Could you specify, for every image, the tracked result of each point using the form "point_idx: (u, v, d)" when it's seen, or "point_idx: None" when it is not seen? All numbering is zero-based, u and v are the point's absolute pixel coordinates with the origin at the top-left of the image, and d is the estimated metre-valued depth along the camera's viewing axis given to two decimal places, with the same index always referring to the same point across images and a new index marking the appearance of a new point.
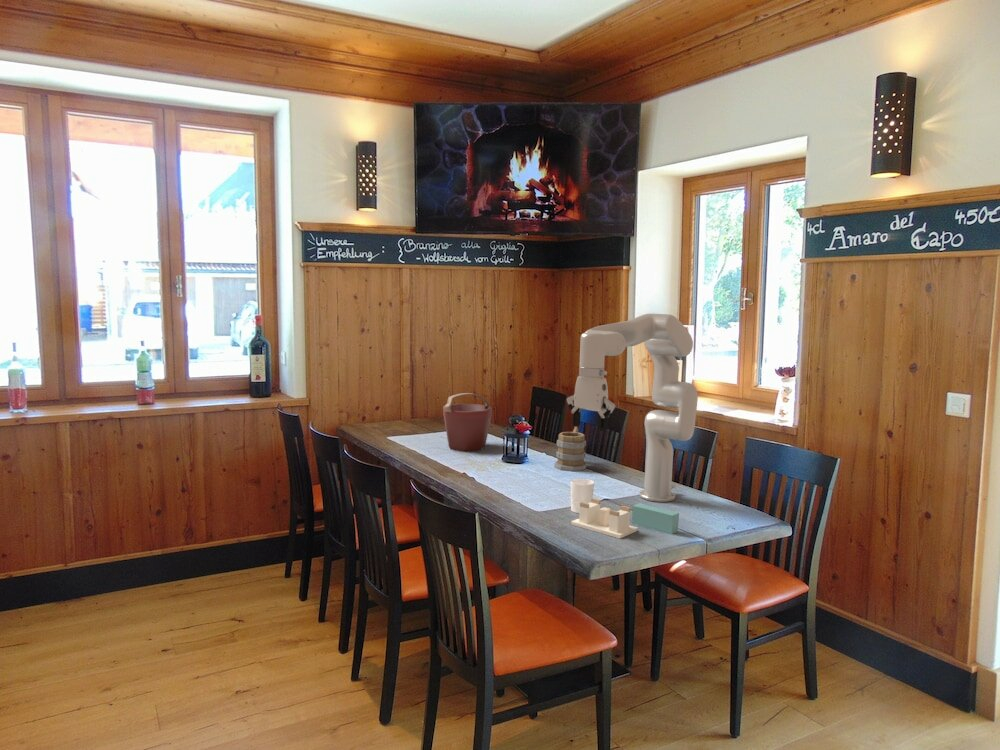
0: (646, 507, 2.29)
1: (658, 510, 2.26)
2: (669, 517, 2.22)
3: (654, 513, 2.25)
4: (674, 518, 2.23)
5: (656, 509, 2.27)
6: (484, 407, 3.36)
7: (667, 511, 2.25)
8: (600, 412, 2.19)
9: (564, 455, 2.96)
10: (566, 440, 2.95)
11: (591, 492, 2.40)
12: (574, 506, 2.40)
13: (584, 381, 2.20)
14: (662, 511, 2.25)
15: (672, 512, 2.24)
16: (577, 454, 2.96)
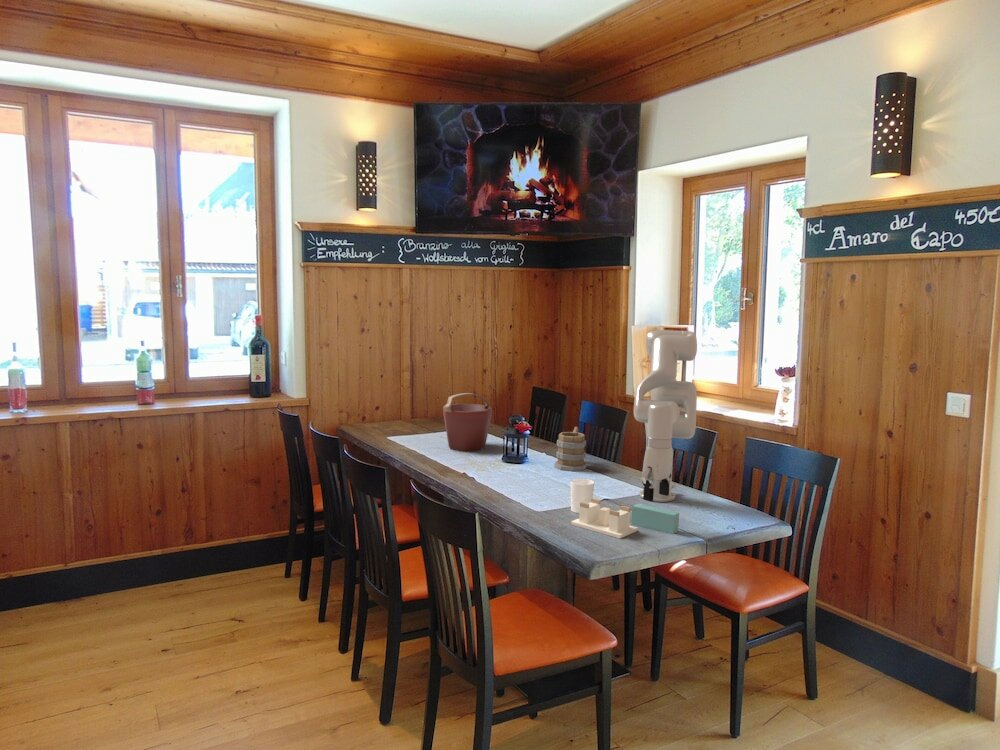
0: (646, 507, 2.29)
1: (659, 510, 2.26)
2: (670, 517, 2.22)
3: (655, 513, 2.25)
4: (675, 518, 2.23)
5: (656, 509, 2.27)
6: (484, 407, 3.36)
7: (667, 511, 2.25)
8: (668, 478, 2.28)
9: (564, 455, 2.96)
10: (566, 440, 2.95)
11: (591, 492, 2.40)
12: (574, 506, 2.40)
13: (664, 453, 2.23)
14: (663, 511, 2.25)
15: (672, 512, 2.25)
16: (577, 454, 2.96)
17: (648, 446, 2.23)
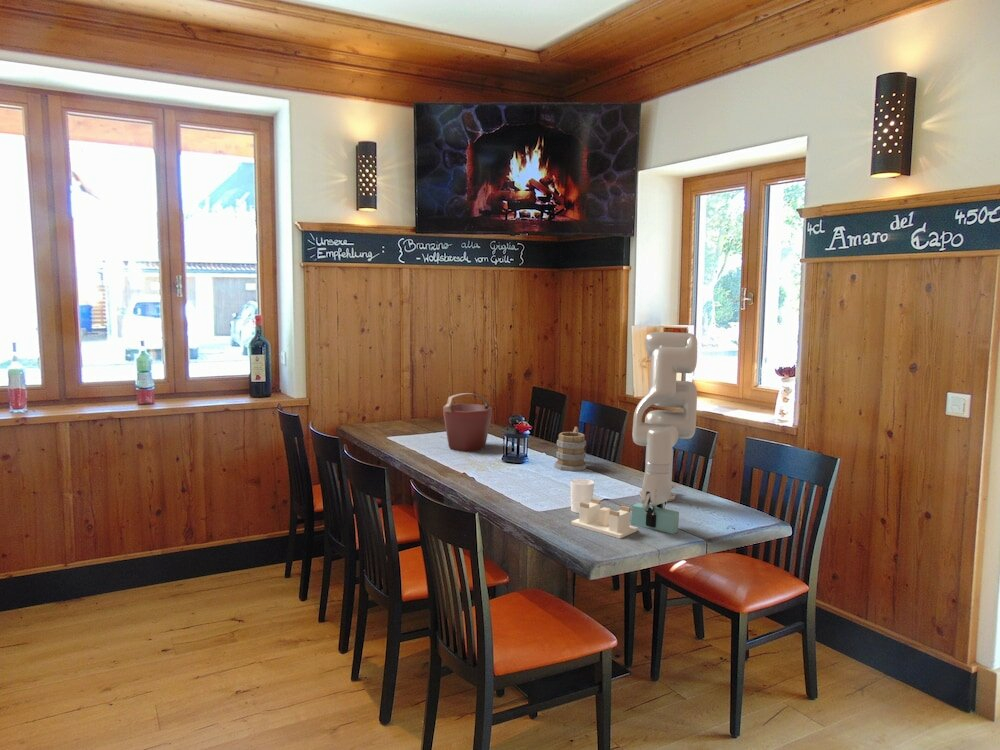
0: None
1: (659, 510, 2.26)
2: (670, 516, 2.22)
3: (655, 513, 2.25)
4: (675, 518, 2.23)
5: (656, 508, 2.27)
6: (484, 407, 3.36)
7: (667, 511, 2.25)
8: (664, 505, 2.29)
9: (564, 455, 2.96)
10: (566, 440, 2.95)
11: (591, 492, 2.40)
12: (574, 506, 2.40)
13: (663, 477, 2.24)
14: (663, 510, 2.25)
15: (672, 511, 2.25)
16: (577, 454, 2.96)
17: (647, 471, 2.25)
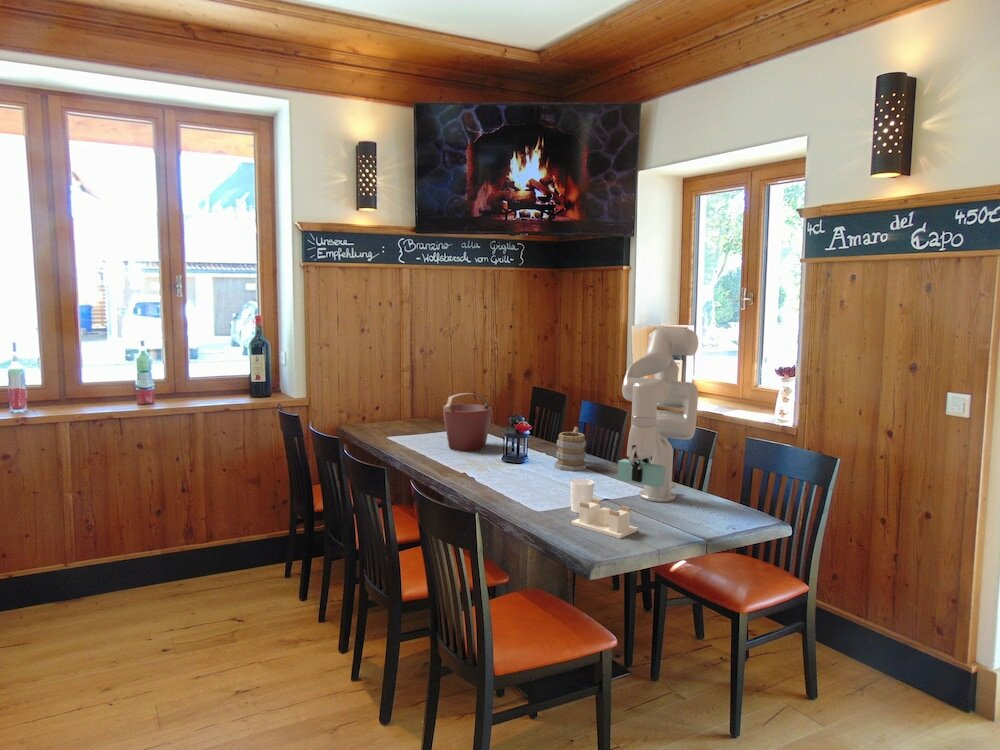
0: None
1: (645, 464, 2.23)
2: (656, 470, 2.20)
3: (641, 467, 2.23)
4: (661, 471, 2.20)
5: (642, 463, 2.25)
6: (484, 407, 3.36)
7: (653, 465, 2.23)
8: (650, 460, 2.26)
9: (564, 455, 2.96)
10: (566, 440, 2.95)
11: (591, 492, 2.40)
12: (574, 506, 2.40)
13: (649, 431, 2.21)
14: (649, 465, 2.23)
15: (658, 465, 2.22)
16: (577, 454, 2.96)
17: (633, 425, 2.22)
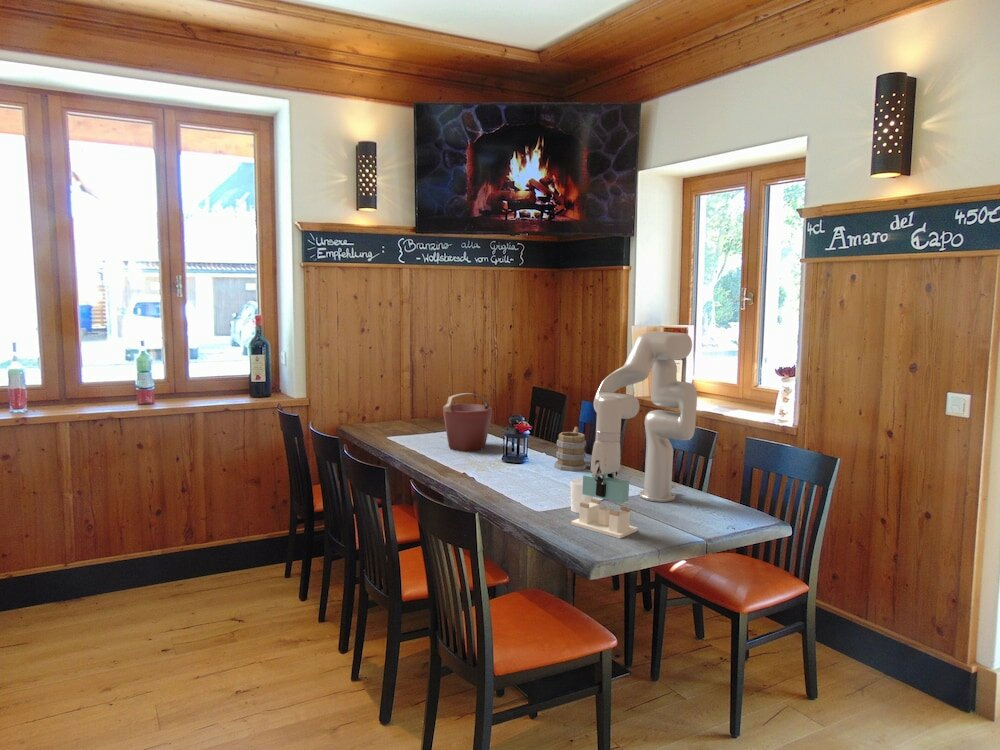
0: None
1: (609, 479, 2.23)
2: (619, 485, 2.19)
3: (605, 482, 2.22)
4: (625, 487, 2.20)
5: (607, 478, 2.24)
6: (484, 407, 3.36)
7: (617, 480, 2.22)
8: (614, 475, 2.25)
9: (564, 455, 2.96)
10: (566, 440, 2.95)
11: None
12: (574, 506, 2.40)
13: (613, 446, 2.21)
14: (613, 480, 2.22)
15: (622, 481, 2.22)
16: (577, 454, 2.96)
17: (596, 439, 2.22)
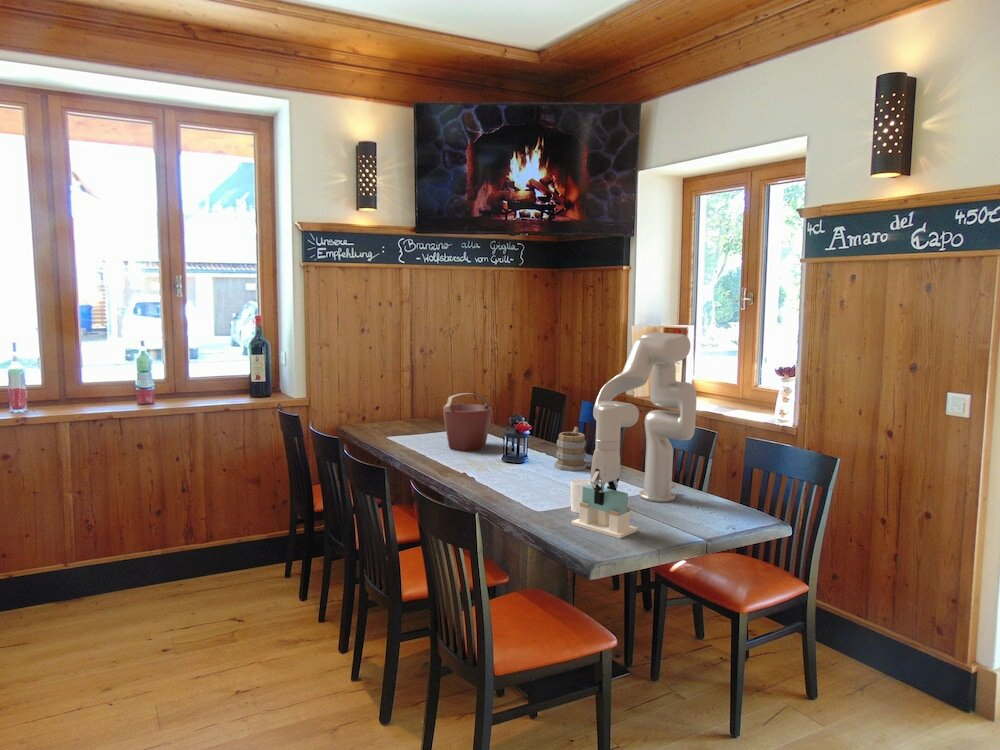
0: None
1: (608, 491, 2.23)
2: (617, 497, 2.20)
3: None
4: (623, 499, 2.20)
5: (606, 489, 2.25)
6: (484, 407, 3.36)
7: (616, 492, 2.23)
8: (616, 482, 2.26)
9: (564, 455, 2.96)
10: (566, 440, 2.95)
11: None
12: (574, 506, 2.40)
13: (612, 455, 2.21)
14: (611, 492, 2.23)
15: (621, 493, 2.22)
16: (577, 454, 2.96)
17: (596, 448, 2.22)
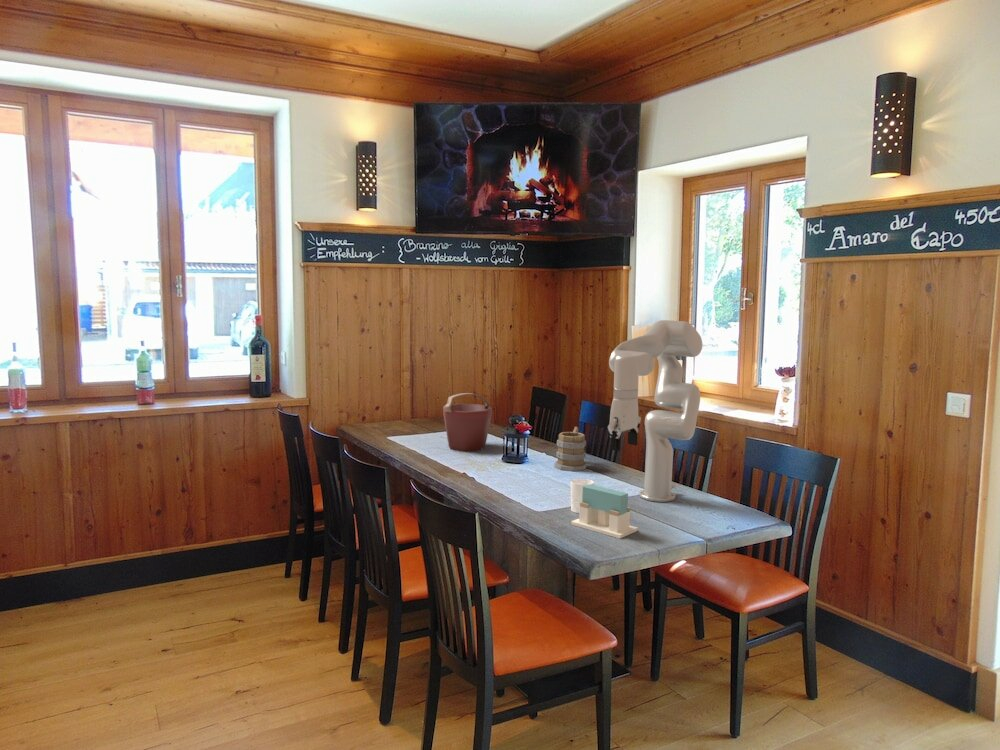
0: (596, 488, 2.27)
1: (608, 491, 2.23)
2: (617, 497, 2.20)
3: (603, 494, 2.23)
4: (623, 499, 2.20)
5: (606, 489, 2.25)
6: (484, 407, 3.36)
7: (616, 492, 2.23)
8: (636, 428, 2.30)
9: (564, 455, 2.96)
10: (566, 440, 2.95)
11: None
12: (574, 506, 2.40)
13: (631, 403, 2.24)
14: (611, 492, 2.23)
15: (621, 493, 2.22)
16: (577, 454, 2.96)
17: (615, 397, 2.25)
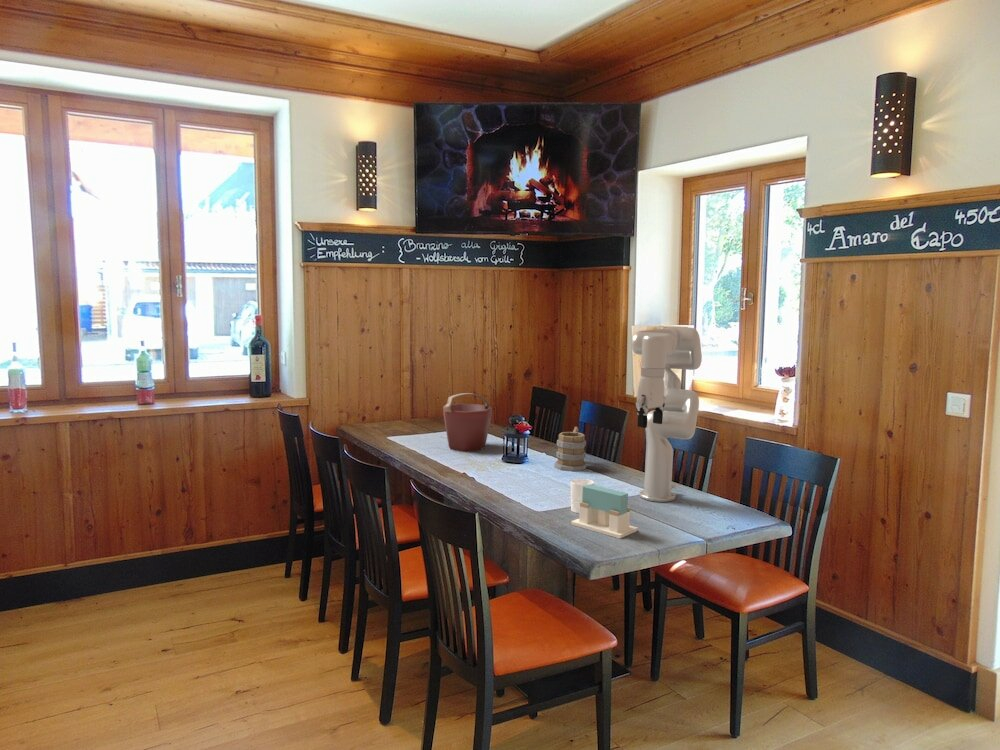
0: (596, 488, 2.27)
1: (608, 491, 2.23)
2: (617, 497, 2.20)
3: (603, 494, 2.23)
4: (623, 499, 2.20)
5: (606, 489, 2.25)
6: (484, 407, 3.36)
7: (616, 492, 2.23)
8: (661, 407, 2.38)
9: (564, 455, 2.96)
10: (566, 440, 2.95)
11: None
12: (574, 506, 2.40)
13: (658, 381, 2.32)
14: (611, 492, 2.23)
15: (621, 493, 2.22)
16: (577, 454, 2.96)
17: (642, 375, 2.32)
